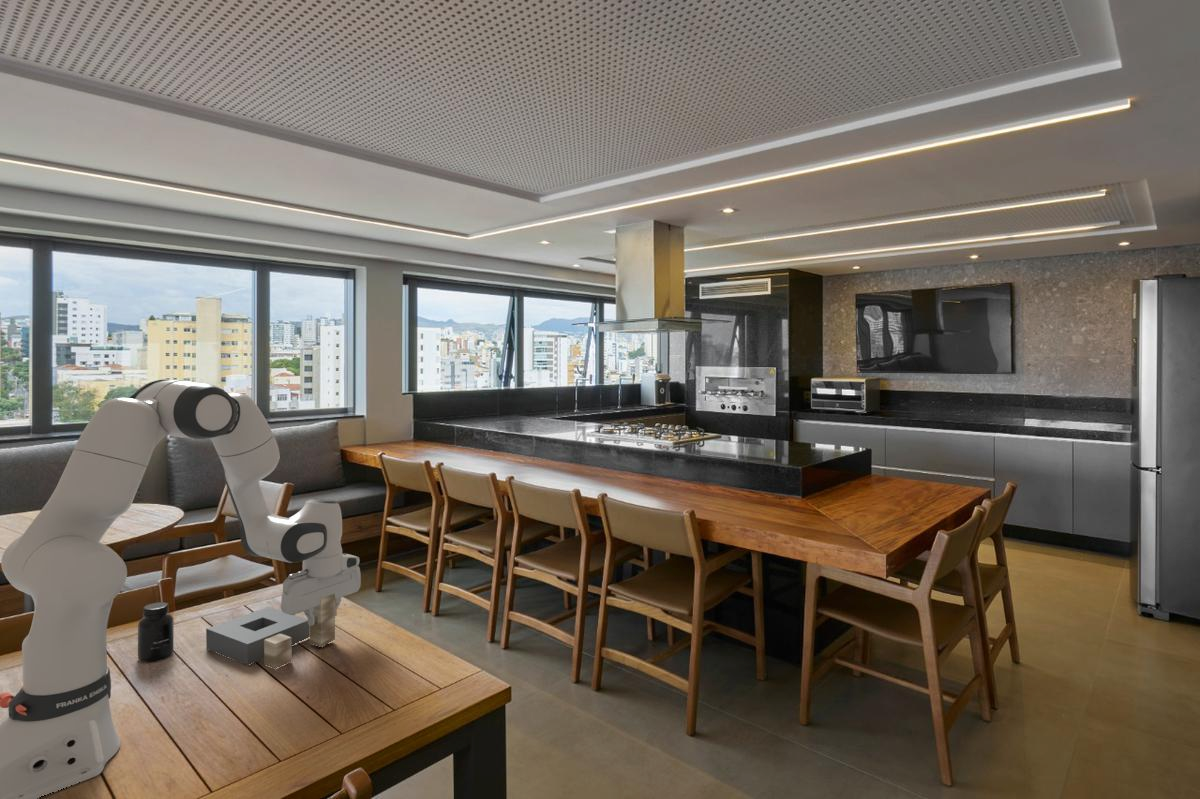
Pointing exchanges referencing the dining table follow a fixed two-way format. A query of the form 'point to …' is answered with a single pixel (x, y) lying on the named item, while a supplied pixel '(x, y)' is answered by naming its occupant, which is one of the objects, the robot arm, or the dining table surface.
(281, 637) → the short pin
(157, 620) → the supplement bottle
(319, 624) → the tall pin
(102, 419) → the robot arm
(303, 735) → the dining table surface
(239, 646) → the socket block
